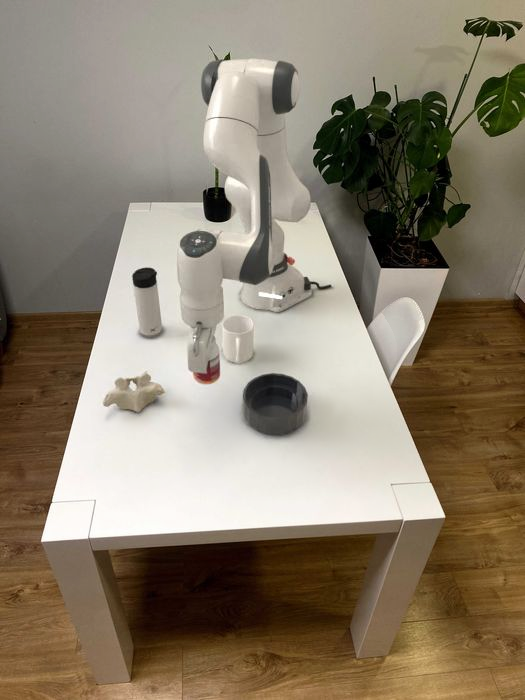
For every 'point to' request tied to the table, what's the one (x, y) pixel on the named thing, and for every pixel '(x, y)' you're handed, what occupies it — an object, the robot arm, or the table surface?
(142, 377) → the bone
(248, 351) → the cup
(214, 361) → the pill bottle
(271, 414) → the bowl
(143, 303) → the travel mug
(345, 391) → the table surface
